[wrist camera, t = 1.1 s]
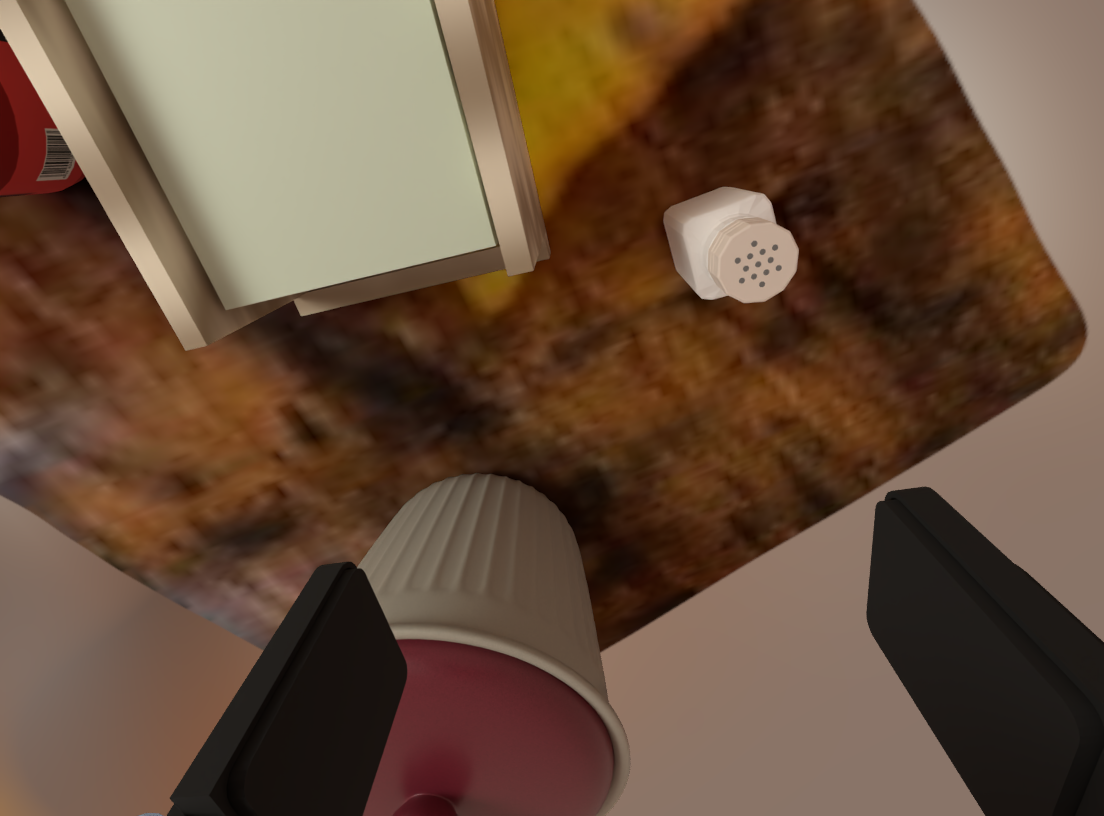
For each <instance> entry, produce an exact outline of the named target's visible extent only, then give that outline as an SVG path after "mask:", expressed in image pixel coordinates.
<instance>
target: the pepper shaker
mask: <svg viewBox="0 0 1104 816" xmlns="http://www.w3.org/2000/svg"><path fill="white" fill-rule="evenodd" d="M663 222H664V226H665V230H666V234H667V238H668V241H669V245H670V249H671V253H672V257H673V261H674V264H675V268H676V271H677V272H678V273H679V274H680V276H681V277H682V278H683V279H684V280H685V281H686V282H687V283H688V284H689V285H690V287H691V288H692V289H693V290H694V291H695V292H696V293H697V294H698V295H699V296H700V298H701V299H709V300H713V299H717V298H721V297H724V296H731V297H733V298H735V299H737V300H739V301H741V302H743V303H753V302H765V301H766V300H768V299H770V298H771V297H773V296H775V295H776V294H778V293H780V292H781V291H783V290H784V289H785V287H786V286H787V285H788V283H789V282H790V280H791V279H792V277H793V276H794V274H795V273H796V271H797V262H798V254H799V249H798V247H797V245H796V243H795V240H794V238H793V236H792V234H791V232H790V231H788V230H786V229H785V228H783V227H781V226H779V225H777V224H776V220H775V216H774V212H773V208H772V203H771V202H770V201H769V199H768V198H767V197H766V196H765V194H762V193H757V192H752V191H748V190H743V189H738V188H733V187H721V188H718V189H715V190H713V191H710V192H708V193H705V194H702V195H700V196H697V197H694V198H692V199H689V200H686V201H684V202H681V203H678V204H676V205H673V206H671V207H670V208H669V209H668V210H666V211H665V212H664V219H663Z"/></svg>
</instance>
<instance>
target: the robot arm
mask: <svg viewBox="0 0 1104 816" xmlns="http://www.w3.org/2000/svg"><path fill="white" fill-rule="evenodd" d="M867 622H868V625H869V628H870V631H871V633H872V635H873V637H874V639H875V640H876V642H877V643H878V645H879V647H880V648H881V650H882V651H883V653H884V654H885V656H886V658H887V659H888V661H889V663H890V664H891V666H892V667H893V669H894V670H895V672H896V674H897V675H898V677H899V679H900V680H901V682H902V683H903V685H904V686H905V688H906V689H907V691H908V693H909V694H910V696H911V698H912V699H913V701H914V702H915V704H916V706H917V707H918V709H919V710H920V712H921V714H922V715H923V717H924V718H925V720H926V721H927V723H928V725H929V726H930V728H931V730H932V731H933V733H934V734H935V736H936V737H937V739H938V741H939V742H940V744H941V745H942V747H943V749H944V750H945V752H946V754H947V755H948V757H949V758H950V760H951V762H952V763H953V765H954V766H955V768H956V770H957V771H958V773H959V774H960V776H961V778H962V779H963V781H964V782H965V784H966V786H967V787H968V789H969V790H970V792H971V794H972V795H973V797H974V798H975V800H976V801H977V803H978V805H979V806H980V808H981V809H982V811H983V813H984V814H985V816H1104V642H1103V641H1102V640H1101V639H1099V638H1098V637H1097V636H1096V635H1095V634H1094V633H1093V632H1092V631H1091V630H1090V629H1088V628H1087V627H1086V626H1085V625H1084V624H1083V623H1082V622H1081V621H1080V620H1079V619H1077V618H1076V617H1075V616H1074V615H1073V614H1072V613H1071V612H1070V611H1069V610H1068V609H1067V608H1065V607H1064V606H1063V605H1062V604H1061V603H1060V602H1059V601H1058V600H1057V599H1056V598H1054V597H1053V596H1052V595H1051V594H1050V593H1049V592H1048V591H1046V590H1045V588H1043V587H1042V586H1041V585H1040V584H1039V583H1038V582H1037V581H1036V580H1035V579H1034V578H1032V577H1031V576H1030V575H1029V574H1028V573H1027V572H1026V571H1024V570H1023V569H1022V568H1020V567H1019V566H1017V565H1016V564H1014V563H1013V562H1012V561H1011V560H1010V559H1008V558H1007V557H1006V556H1005V555H1004V554H1003V553H1002V552H1001V551H1000V550H999V549H998V548H996V547H995V546H994V545H993V544H992V543H991V542H990V541H989V540H988V539H987V538H986V537H984V536H983V535H982V534H981V533H980V532H979V531H978V530H977V529H976V528H975V527H973V526H972V525H971V524H970V523H969V522H968V521H967V520H966V519H965V518H964V517H963V516H962V515H960V514H959V513H958V512H957V511H956V510H955V509H954V508H953V507H952V506H951V505H950V504H949V503H947V502H946V501H945V500H944V499H943V498H942V497H941V496H940V495H939V494H938V493H937V492H935V491H934V490H933V489H931V488H929V487H918V488H911V489H904V490H895V491H891V492H888V493H887V495H886V497H885V501H880V502H878V503H877V505H876V509H875V521H874V532H873V544H872V555H871V566H870V578H869V589H868V601H867ZM406 680H407V663H406V660H405V658H404V656H403V654H402V651H401V649H400V647H399V645H398V643H397V641H396V638H395V636H394V634H393V632H392V630H391V628H390V625H389V623H388V621H387V619H386V617H385V615H384V612H383V610H382V608H381V606H380V604H379V602H378V599H377V597H376V595H375V593H374V591H373V589H372V587H371V584H370V582H369V580H368V578H367V576H366V574H365V572H364V570H363V569H361V568H357V567H356V566H355V564H353V563H352V562H342V563H334V564H327V565H321V566H319V567H318V568H317V569H316V570H315V571H314V573H313V574H312V576H311V578H310V579H309V581H308V582H307V584H306V585H305V587H304V588H303V590H302V592H301V593H300V595H299V596H298V598H297V599H296V601H295V603H294V604H293V606H292V607H291V609H290V610H289V612H288V614H287V615H286V617H285V618H284V620H283V621H282V623H281V625H280V626H279V628H278V629H277V631H276V632H275V634H274V635H273V637H272V639H271V640H270V642H269V643H268V645H267V646H266V648H265V650H264V651H263V653H262V654H261V656H260V658H259V659H258V661H257V662H256V664H255V665H254V667H253V668H252V670H251V672H250V673H249V675H248V676H247V678H246V679H245V681H244V683H243V684H242V686H241V687H240V689H239V690H238V692H237V694H236V695H235V697H234V698H233V700H232V702H231V703H230V705H229V706H228V708H227V709H226V711H225V712H224V714H223V716H222V717H221V719H220V720H219V722H218V723H217V725H216V726H215V728H214V730H213V731H212V733H211V734H210V736H209V738H208V739H207V741H206V742H205V744H204V745H203V747H202V748H201V750H200V752H199V753H198V755H197V756H196V758H195V759H194V761H193V762H192V764H191V766H190V767H189V769H188V770H187V772H186V773H185V775H184V777H183V778H182V780H181V781H180V783H179V785H178V786H177V788H176V789H175V791H174V792H173V794H172V795H171V797H170V799H171V800H172V802H174V805H173V806H172V808H171V810H170V811H169V813H168V814H167V816H363V813H364V810H365V807H366V804H367V801H368V798H369V795H370V792H371V789H372V786H373V782H374V779H375V776H376V773H377V770H378V767H379V764H380V761H381V758H382V755H383V752H384V749H385V746H386V743H387V739H388V736H389V733H390V730H391V727H392V724H393V721H394V718H395V715H396V712H397V709H398V706H399V703H400V700H401V697H402V693H403V690H404V687H405V684H406ZM139 816H162V815H161V814H156V813H146V814H142V815H139Z"/></svg>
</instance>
